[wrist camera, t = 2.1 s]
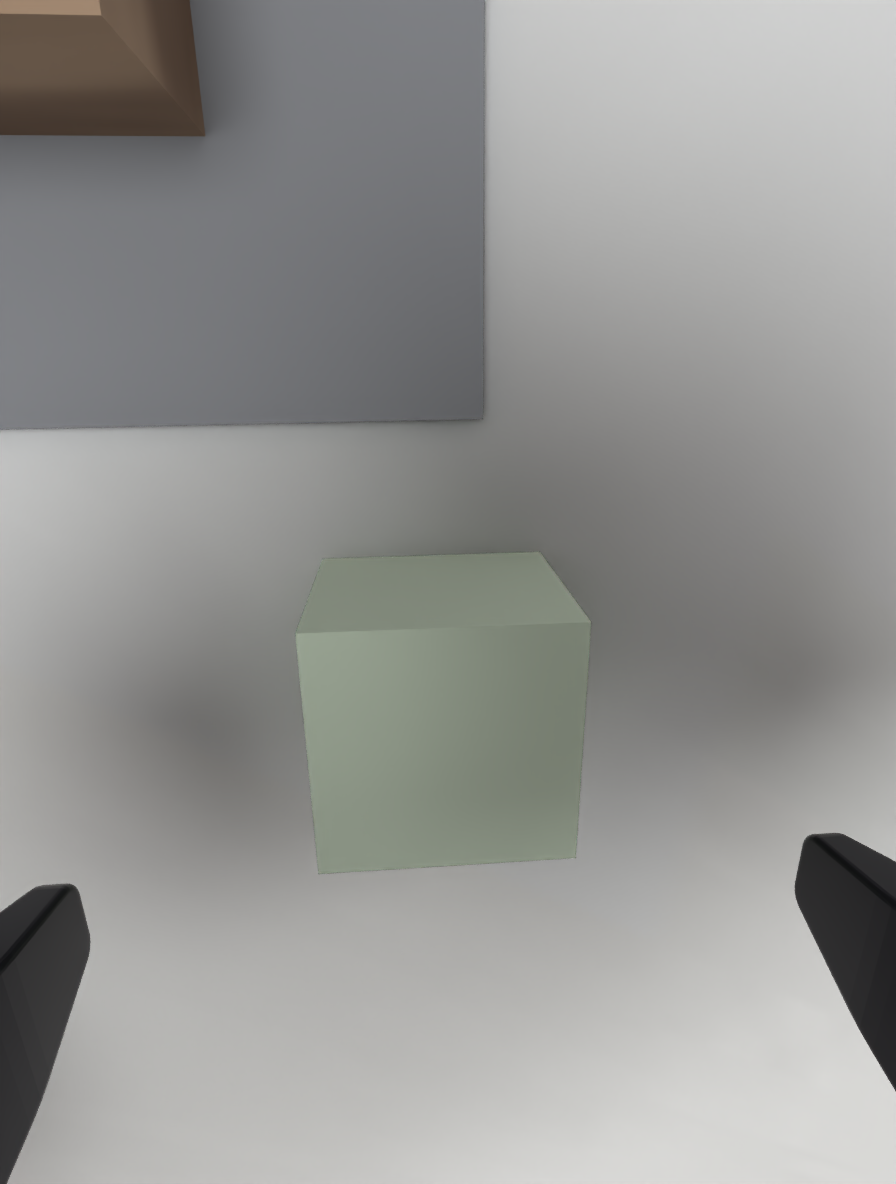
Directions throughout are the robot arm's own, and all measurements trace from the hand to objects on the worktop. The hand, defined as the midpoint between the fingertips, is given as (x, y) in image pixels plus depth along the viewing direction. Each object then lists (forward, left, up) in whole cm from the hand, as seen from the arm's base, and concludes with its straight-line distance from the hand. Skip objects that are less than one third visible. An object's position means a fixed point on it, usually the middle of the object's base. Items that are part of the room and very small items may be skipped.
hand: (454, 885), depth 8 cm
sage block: (0, 0, -7) cm, 7 cm away
